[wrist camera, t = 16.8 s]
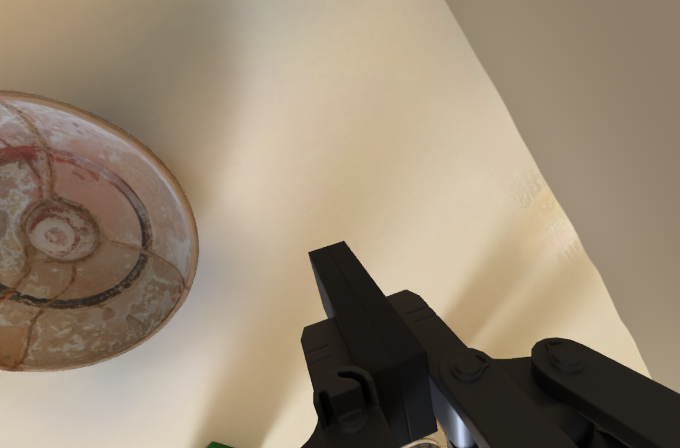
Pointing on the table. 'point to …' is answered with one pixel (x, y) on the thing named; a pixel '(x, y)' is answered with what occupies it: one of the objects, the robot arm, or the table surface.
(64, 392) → the table surface
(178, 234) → the ceramic bowl
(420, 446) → the coffee can
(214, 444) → the milk carton
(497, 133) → the table surface
